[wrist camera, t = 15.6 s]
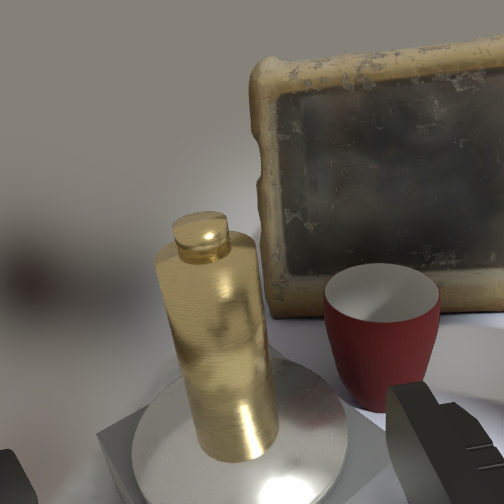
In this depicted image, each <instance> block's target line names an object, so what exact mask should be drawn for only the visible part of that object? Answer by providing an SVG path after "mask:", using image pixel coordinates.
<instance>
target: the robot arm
mask: <svg viewBox="0 0 504 504" xmlns="http://www.w3.org/2000/svg"><path fill="white" fill-rule="evenodd" d="M386 443H387V448H388V452H389V456H390V459H391V462H392V465H393V468H394V470H395V472H396V475H397V477H398V479H399V482H400V484H401V486H402V489H403V491H404V493H405V496H406V498H407V500H408V503H409V504H504V458H503V456H502V455H501V453H500V452H499V451H498V449H497V448H496V447H494V445H493V442H492V440H491V439H490V437H489V436H488V434H487V433H486V432H485V430H484V429H483V427H482V426H481V424H480V423H479V421H478V420H477V419H476V418H475V417H473V416H472V415H471V414H469V413H468V412H467V411H465V410H464V409H463V408H462V407H460V406H459V405H458V404H456V403H455V402H451V403H445V404H440V405H439V404H438V402H437V400H436V399H435V397H434V395H433V394H432V392H431V391H430V389H429V387H428V386H427V384H426V383H425V382H423V381H417V382H411V383H405V384H399V385H393V386H388V387H387V389H386ZM0 504H38V499H37V496H36V493H35V491H34V489H33V487H32V485H31V483H30V482H29V479H28V478H27V476H26V474H25V472H24V470H23V468H22V467H21V464H20V463H19V461H18V459H17V457H16V455H15V453H14V452H13V451H12V450H10V449H4V450H0Z"/></svg>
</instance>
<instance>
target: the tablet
mask: <svg viewBox="0 0 504 504" xmlns="http://www.w3.org/2000/svg"><path fill="white" fill-rule="evenodd" d="M249 105H250V116H251V117H250V118H251V132H252V134H253V137H254V138H255V139H256V141H257V143H258V145H259V150H260V156H261V176H260V178H259V179H258V180H257V184H256V187H257V197H258V212H259V216H260V221H261V229H262V232H261V239H260V251H261V259H262V268H263V276H264V289H265V298H266V301H267V304H268V306H269V309H270V314H271V316H272V318H273V319H276V318H294V317H303V316H324V287H325V285H326V283H327V281H328V280H329V279H330V278H331V277H332V276H334V275H335V274H337V273H338V272H340V271H342V270H344V269H347V268H350V267H353V266H357V265H363V264H372V263H387V264H396V265H401V266H406V267H409V268H412V269H415V270H418V271H420V272H422V273H424V274H425V275H427V276H428V277H430V278H431V279H432V280H433V281H434V282H435V283H436V284H437V286H438V287H439V290H440V313H441V312H468V311H504V34H498V35H493V36H489V37H483V38H478V39H474V40H470V41H464V42H456V43H449V44H442V45H433V46H425V47H416V48H408V49H398V50H388V51H380V52H375V53H346V52H344V53H342V54H341V55H338V56H331V57H323V58H315V59H307V60H299V61H289V62H283V61H280V60H279V59H277V58H276V57H275V56H270V57H266V58H264V59H263V60H261V61H260V62H258V63H257V64H256V66H255V67H254V69H253V70H252V72H251V75H250V80H249Z"/></svg>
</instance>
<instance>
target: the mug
mask: <svg viewBox="0 0 504 504" xmlns="http://www.w3.org/2000/svg"><path fill="white" fill-rule="evenodd" d="M324 317H325V325H326V330H327V334H328V338H329V341H330V345H331V348H332V352H333V356H334V359H335V363H336V367H337V370H338V373H339V376H340V378H341V380H342V382H343V384H344V385H345V387H346V388H347V390H348V391H349V392H350V393H351V395H352V396H353V397H354V398H355V400H356V401H357V402H358V403H359V404H360V405H361V406H362V407H364V408H365V409H367V410H369V411H372V412H377V413H386V389H387V387H388V386H393V385H399V384H405V383H411V382H417V381H423V378H424V376H425V372H426V369H427V366H428V363H429V359H430V356H431V353H432V349H433V346H434V343H435V340H436V336H437V332H438V327H439V319H440V290H439V287H438V286H437V284H436V283H435V282H434V281H433V280H432V279H431V278H430V277H428V276H427V275H425V274H424V273H422V272H420V271H418V270H415V269H412V268H409V267H406V266H401V265H396V264H387V263H372V264H363V265H357V266H353V267H350V268H347V269H344V270H342V271H340V272H338V273H337V274H335V275H334V276H332V277H331V278H330V279H329V280H328V281H327V283H326V285H325V287H324Z"/></svg>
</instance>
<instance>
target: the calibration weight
mask: <svg viewBox="0 0 504 504" xmlns="http://www.w3.org/2000/svg"><path fill="white" fill-rule="evenodd" d="M172 227H173V232H174V237H175V241H173V242H171V243H169V244H168V245H166V246H165V247H163V248H162V249H161V250H160V251H159V252H158V254H157V255H156V257H155V260H154V263H155V267H156V271H157V275H158V279H159V283H160V287H161V291H162V296H163V300H164V304H165V308H166V312H167V316H168V320H169V324H170V328H171V332H172V336H173V340H174V345H175V349H176V353H177V357H178V361H179V365H180V369H181V373H182V377H183V381H184V385H185V389H186V393H187V397H188V402H189V406H190V410H191V414H192V418H193V422H194V426H195V430H196V434H197V438H198V442H199V445H200V447H201V448H202V450H203V451H204V452H205V453H206V454H207V455H208V456H210V457H211V458H213V459H215V460H218V461H221V462H227V463H239V462H244V461H248V460H251V459H254V458H256V457H258V456H260V455H261V454H263V453H264V452H265V451H267V450H268V449H269V448H270V447H271V446H272V444H273V443H274V441H275V440H276V438H277V435H278V432H279V418H278V411H277V403H276V396H275V388H274V380H273V373H272V365H271V358H270V350H269V343H268V335H267V328H266V320H265V313H264V305H263V298H262V290H261V283H260V275H259V268H258V260H257V253H256V245H255V242H254V240H253V239H252V238H251V237H249V236H247V235H246V234H243V233H240V232H235V231H229V230H228V224H227V218H226V216H225V215H224V214H222V213H219V212H213V211H206V212H198V213H193V214H189V215H186V216H184V217H182V218H180V219H178V220H177V221H176V222H175V223H174V224H173V226H172Z"/></svg>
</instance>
